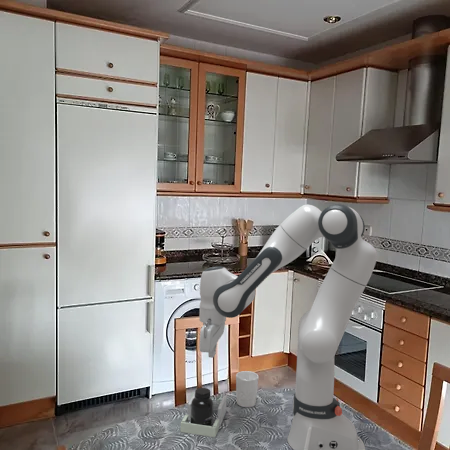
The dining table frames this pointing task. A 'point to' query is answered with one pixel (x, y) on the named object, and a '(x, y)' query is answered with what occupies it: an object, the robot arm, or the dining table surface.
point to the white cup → (246, 388)
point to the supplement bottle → (202, 407)
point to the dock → (199, 428)
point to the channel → (220, 409)
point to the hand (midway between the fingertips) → (212, 356)
